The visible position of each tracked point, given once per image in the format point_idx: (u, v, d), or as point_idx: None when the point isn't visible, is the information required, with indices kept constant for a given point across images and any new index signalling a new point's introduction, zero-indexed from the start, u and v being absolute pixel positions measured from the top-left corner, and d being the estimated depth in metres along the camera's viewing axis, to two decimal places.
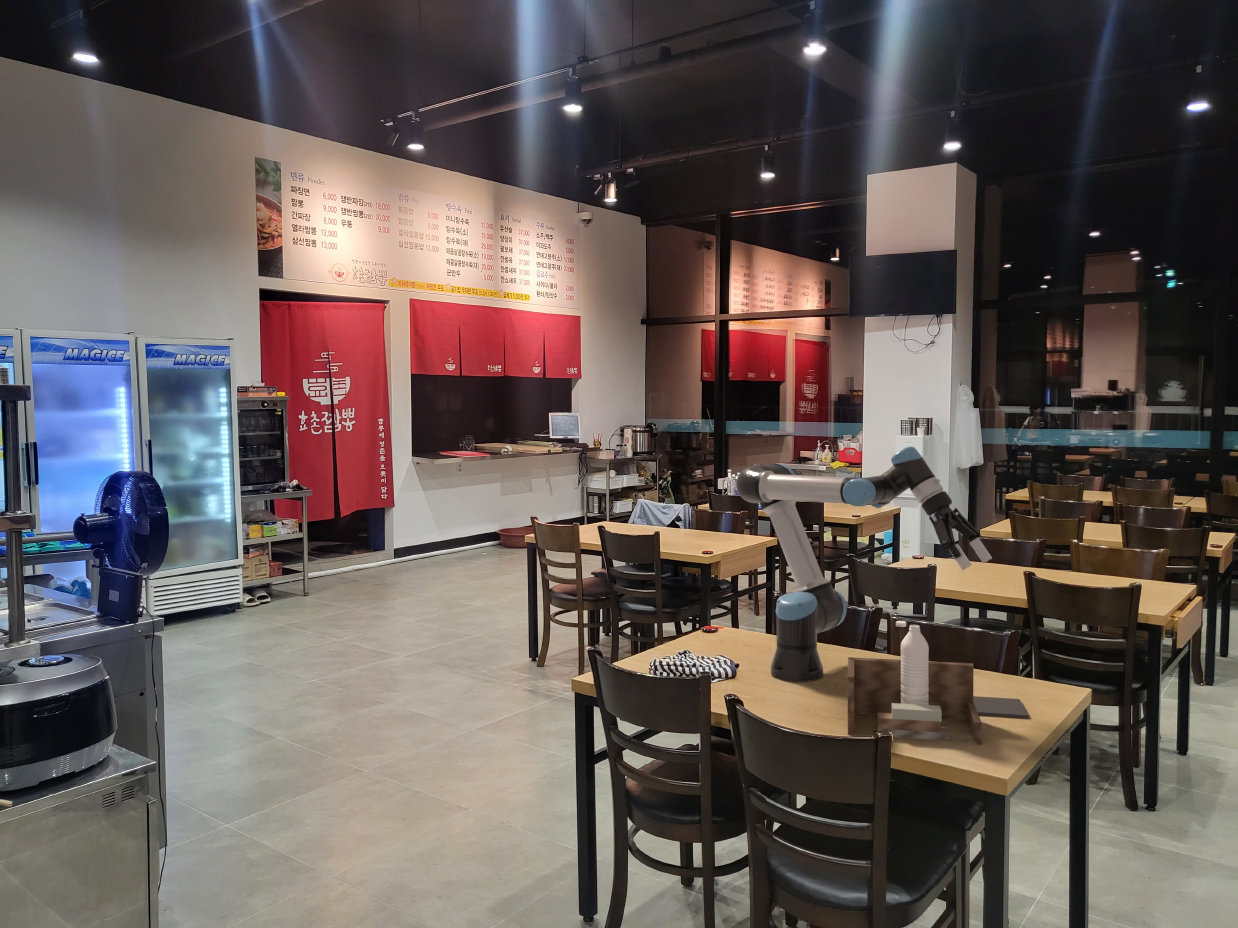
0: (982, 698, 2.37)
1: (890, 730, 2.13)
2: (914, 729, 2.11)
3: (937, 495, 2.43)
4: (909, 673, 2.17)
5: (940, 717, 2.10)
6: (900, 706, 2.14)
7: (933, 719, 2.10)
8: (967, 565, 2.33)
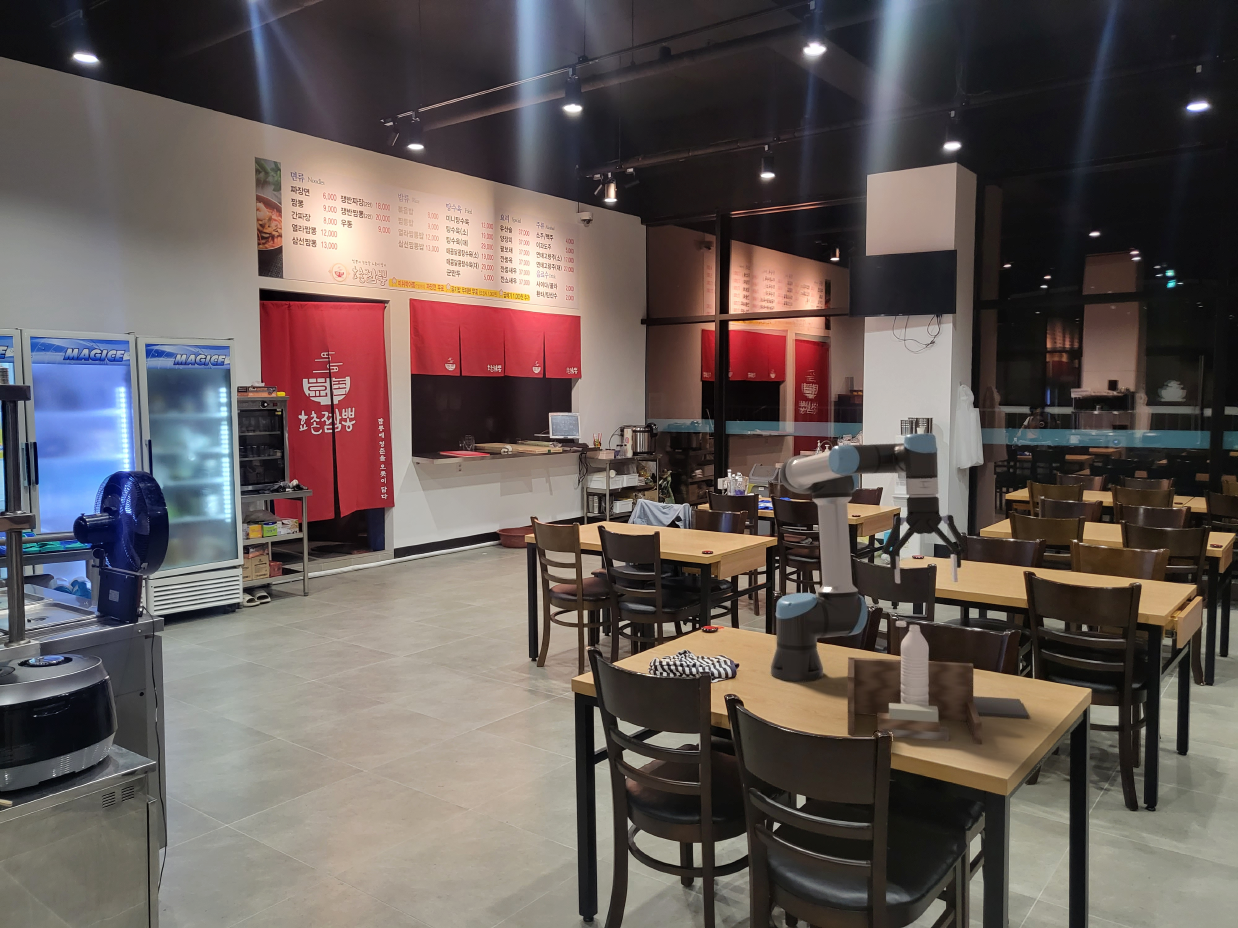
0: (982, 698, 2.37)
1: (890, 730, 2.13)
2: (914, 729, 2.12)
3: (913, 499, 2.19)
4: (909, 673, 2.17)
5: (937, 717, 2.10)
6: (897, 706, 2.14)
7: (930, 719, 2.10)
8: (896, 581, 2.21)
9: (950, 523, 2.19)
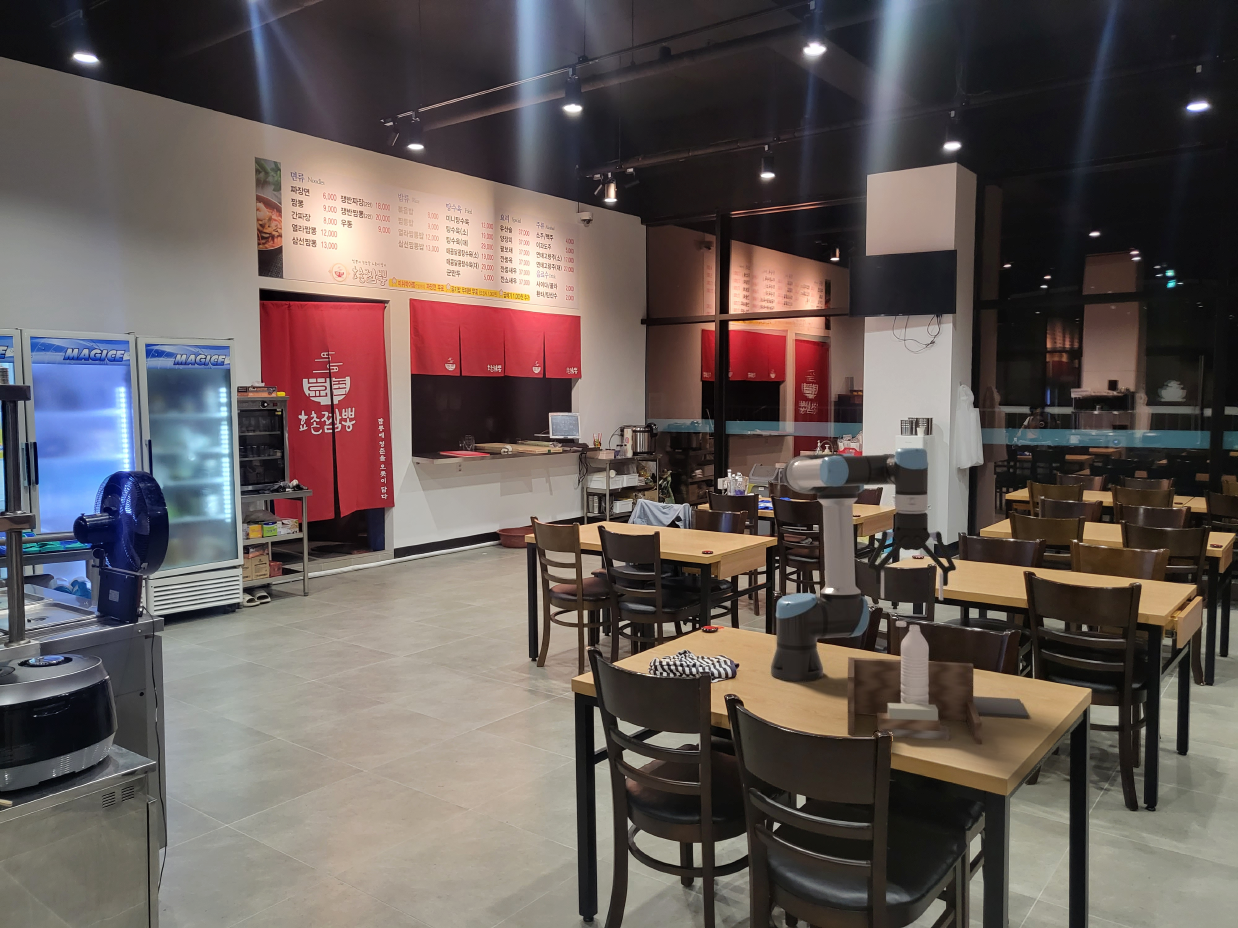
0: (982, 698, 2.37)
1: (890, 729, 2.13)
2: (914, 728, 2.12)
3: (900, 515, 2.16)
4: (909, 673, 2.17)
5: (936, 716, 2.11)
6: (897, 706, 2.14)
7: (930, 718, 2.11)
8: None
9: (938, 540, 2.15)
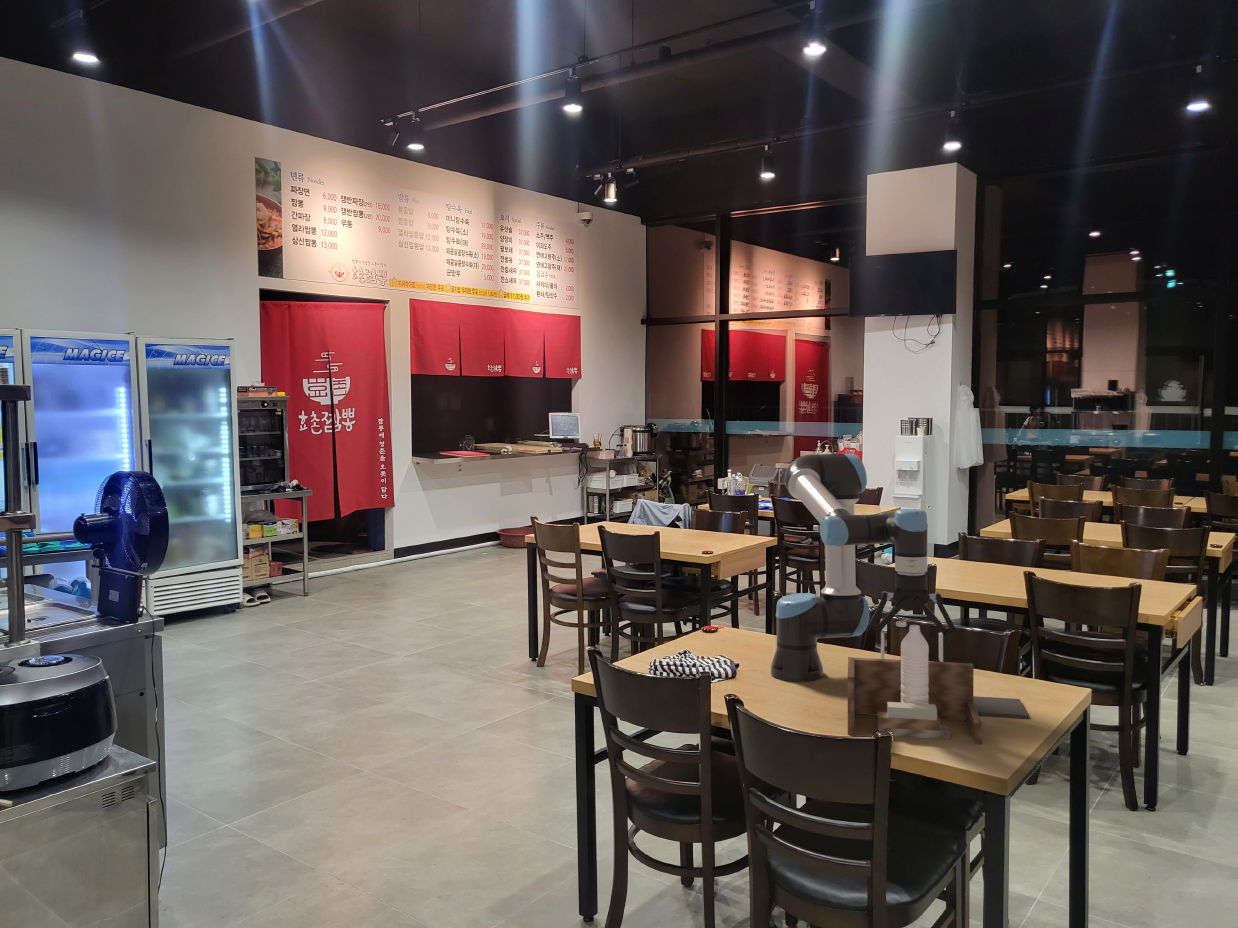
0: (982, 698, 2.37)
1: (891, 729, 2.13)
2: (915, 728, 2.12)
3: (900, 577, 2.17)
4: (909, 673, 2.17)
5: (935, 716, 2.11)
6: (896, 705, 2.15)
7: (928, 718, 2.11)
8: (881, 656, 2.21)
9: (938, 602, 2.16)
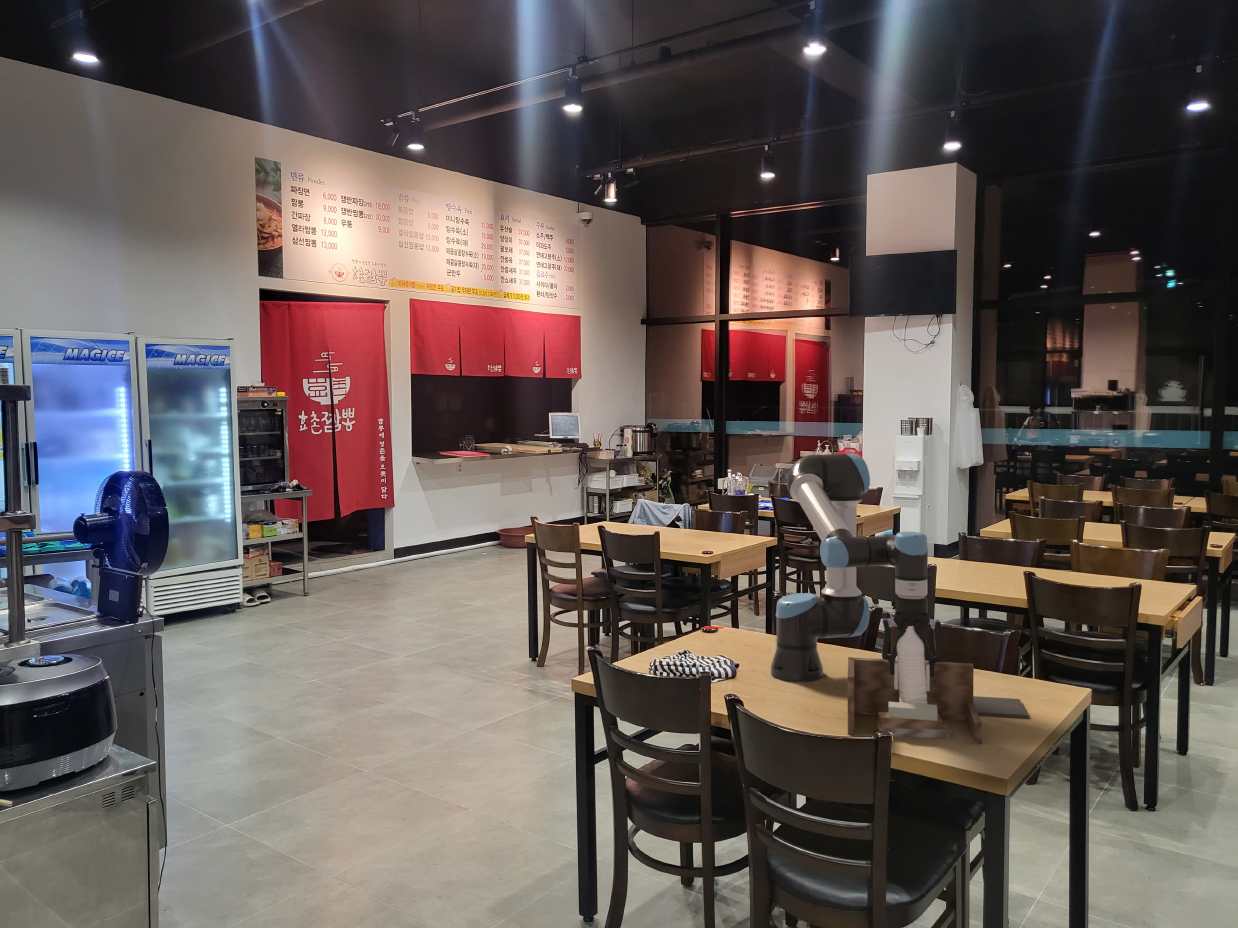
0: (982, 698, 2.37)
1: (892, 729, 2.13)
2: (916, 727, 2.12)
3: (900, 600, 2.17)
4: (906, 672, 2.17)
5: (936, 716, 2.10)
6: (897, 704, 2.15)
7: (929, 718, 2.11)
8: (894, 686, 2.21)
9: (935, 629, 2.17)
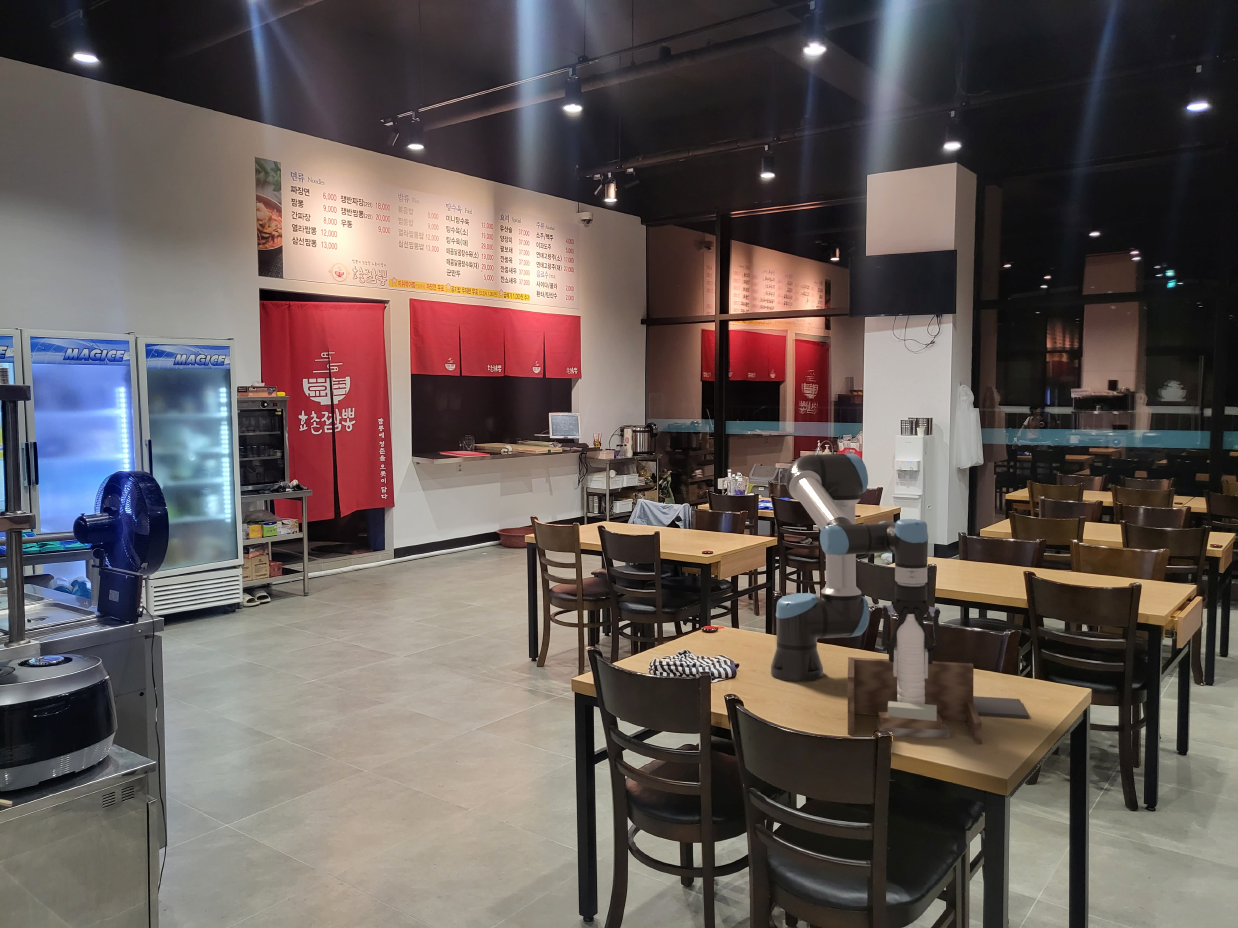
0: (982, 698, 2.37)
1: (892, 729, 2.13)
2: (916, 727, 2.13)
3: (900, 588, 2.17)
4: (905, 660, 2.17)
5: (935, 716, 2.11)
6: (896, 704, 2.15)
7: (928, 718, 2.11)
8: (893, 673, 2.21)
9: (934, 617, 2.17)
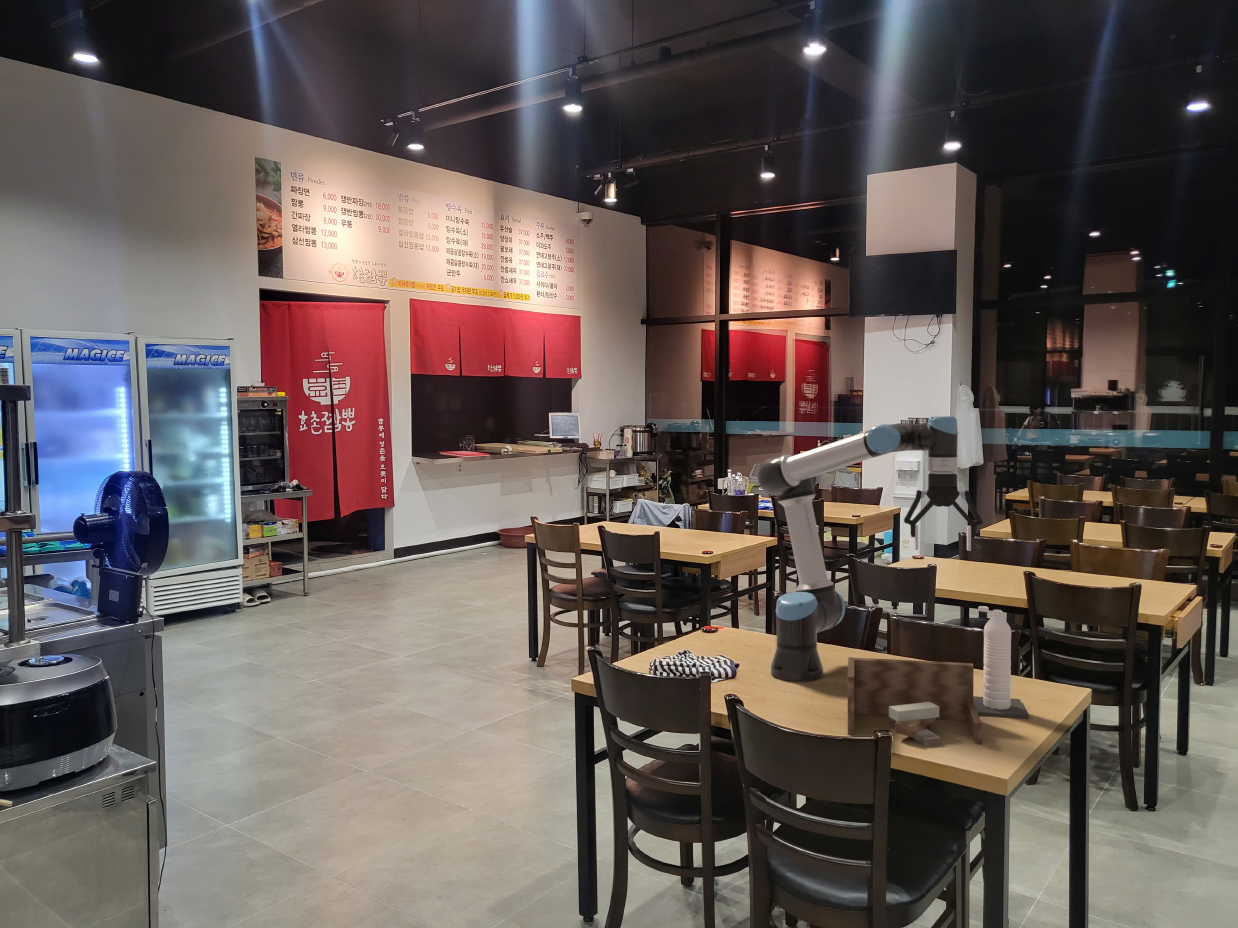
0: (982, 698, 2.37)
1: (896, 721, 2.19)
2: None
3: (933, 476, 2.44)
4: (993, 655, 2.27)
5: None
6: (926, 704, 2.15)
7: None
8: (915, 547, 2.48)
9: (966, 498, 2.43)
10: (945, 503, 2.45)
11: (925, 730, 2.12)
